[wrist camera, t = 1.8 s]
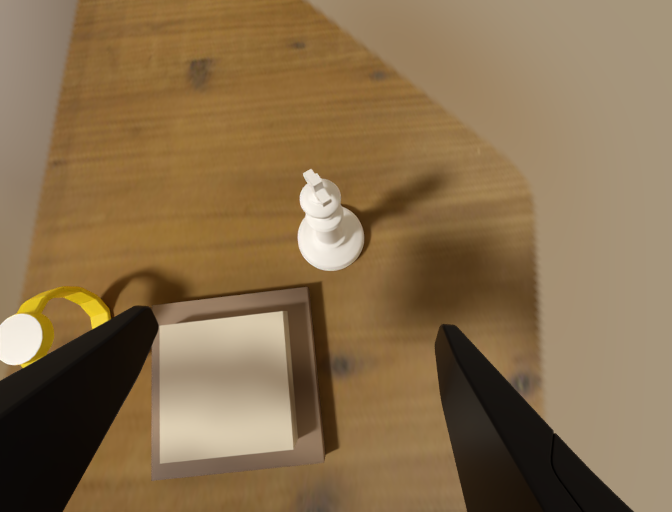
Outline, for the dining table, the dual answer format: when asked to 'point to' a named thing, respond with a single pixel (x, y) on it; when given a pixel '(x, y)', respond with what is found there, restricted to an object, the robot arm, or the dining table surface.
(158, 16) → the dining table surface
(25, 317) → the watch
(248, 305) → the build base
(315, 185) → the chess piece
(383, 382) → the dining table surface
